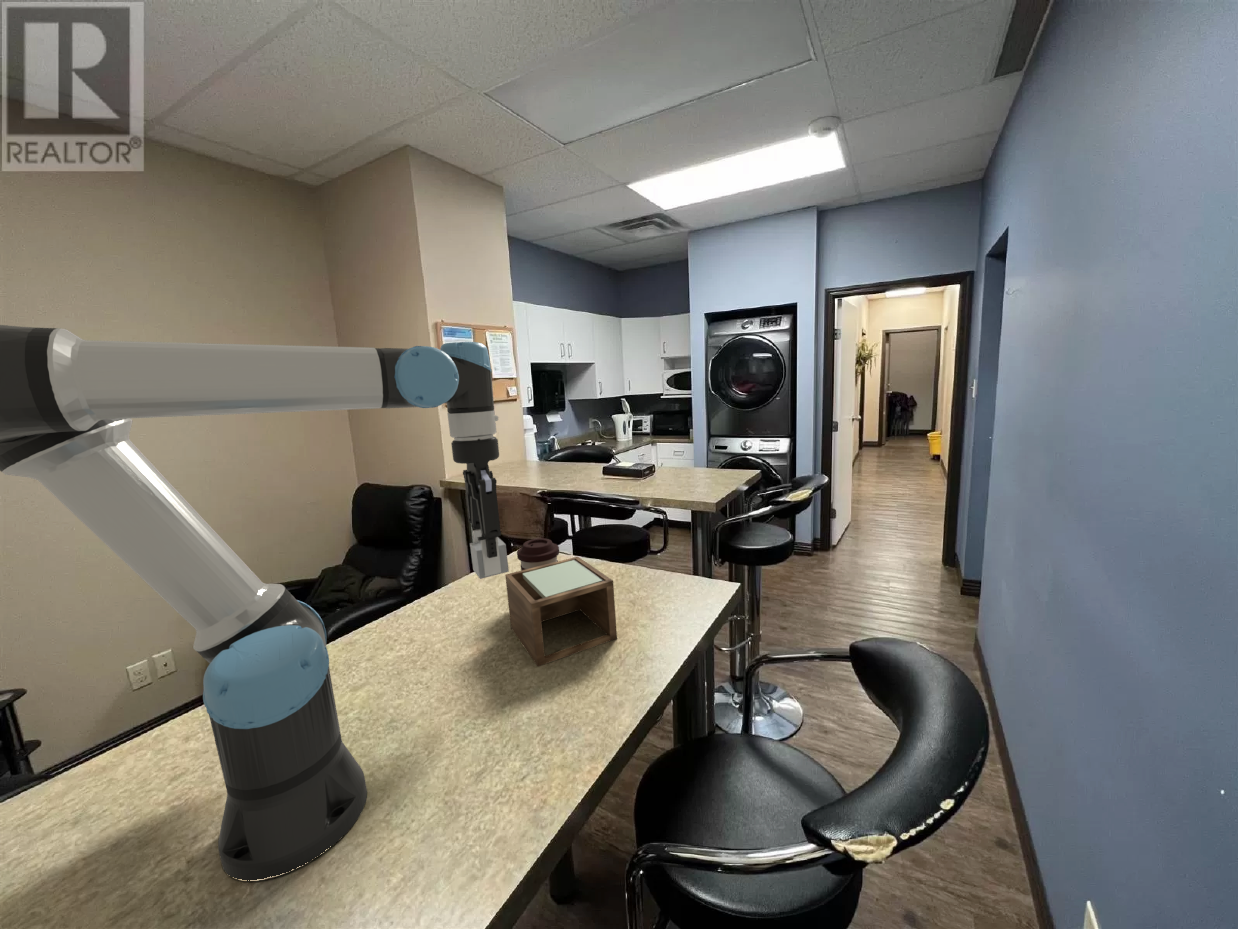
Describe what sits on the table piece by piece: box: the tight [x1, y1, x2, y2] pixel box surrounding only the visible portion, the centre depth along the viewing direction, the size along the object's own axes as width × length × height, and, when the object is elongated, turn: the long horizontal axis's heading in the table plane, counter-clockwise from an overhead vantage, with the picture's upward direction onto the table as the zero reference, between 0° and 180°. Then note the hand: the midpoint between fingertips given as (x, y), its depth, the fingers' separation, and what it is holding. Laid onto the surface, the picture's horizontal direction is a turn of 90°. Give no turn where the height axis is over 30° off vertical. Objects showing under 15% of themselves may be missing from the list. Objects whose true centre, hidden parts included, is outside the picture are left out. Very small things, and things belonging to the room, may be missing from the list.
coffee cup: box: [516, 537, 560, 571], centre depth 115 cm, size 10×10×15 cm
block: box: [469, 537, 510, 580], centre depth 84 cm, size 5×5×5 cm
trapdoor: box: [523, 560, 604, 598], centre depth 99 cm, size 12×14×1 cm
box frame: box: [504, 556, 618, 667], centre depth 100 cm, size 17×17×12 cm
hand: (488, 568), depth 84 cm, fingers closed on block, 5 cm apart
